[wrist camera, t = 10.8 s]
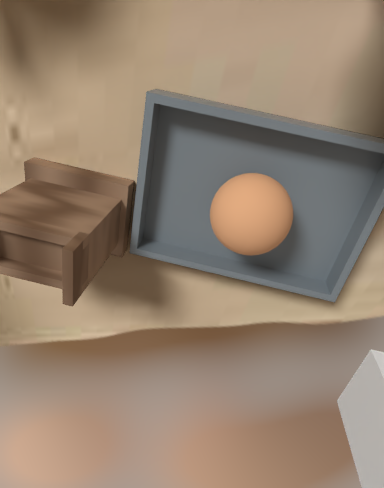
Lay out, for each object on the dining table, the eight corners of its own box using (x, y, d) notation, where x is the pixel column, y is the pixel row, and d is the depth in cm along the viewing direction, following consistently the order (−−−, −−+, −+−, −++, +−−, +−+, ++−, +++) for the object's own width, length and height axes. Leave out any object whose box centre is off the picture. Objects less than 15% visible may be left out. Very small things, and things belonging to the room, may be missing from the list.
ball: (223, 155, 26) (216, 179, 21) (299, 173, 25) (312, 201, 20) (207, 223, 29) (197, 259, 23) (275, 240, 28) (281, 280, 23)
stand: (38, 227, 32) (-44, 291, 23) (34, 157, 29) (-63, 200, 20) (127, 249, 32) (79, 322, 23) (133, 180, 29) (81, 234, 20)
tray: (138, 238, 31) (129, 252, 29) (156, 88, 25) (146, 91, 22) (327, 283, 31) (334, 302, 28) (396, 141, 24) (413, 150, 22)
